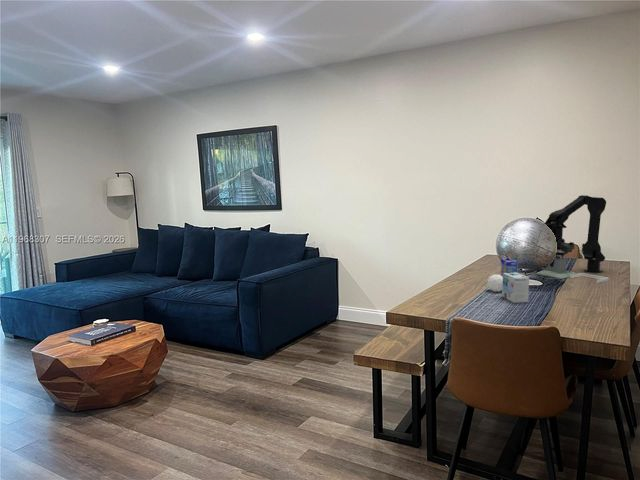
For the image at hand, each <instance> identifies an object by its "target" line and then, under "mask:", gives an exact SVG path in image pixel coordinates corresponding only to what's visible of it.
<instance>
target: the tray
mask: <svg viewBox="0 0 640 480" xmlns="http://www.w3.org/2000/svg"><path fill="white" fill-rule="evenodd" d="M534 273H535V272H534ZM574 274H576V273H575V271H570V270H566V272H563V273H557V272H551V271H546V270H543V271H540V272H537V273H535V275H540V276H545V277H551V278H555V279H560V280H561V279H562V280H563V279H566V278H570V275H574Z"/></svg>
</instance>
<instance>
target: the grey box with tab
mask: <svg viewBox="0 0 640 480" xmlns="http://www.w3.org/2000/svg"><path fill="white" fill-rule="evenodd" d="M556 256H559V257H560V258H559V257H555V259H554V263H553V267H551V266H550V265H549V266H548V267H547V268H546V269H544V268H543V269H544V270H546V271H551V272H557V273H563V272H566V271H567V258H565V257H563V258H562V256H561V255H556Z"/></svg>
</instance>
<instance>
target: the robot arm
mask: <svg viewBox="0 0 640 480" xmlns="http://www.w3.org/2000/svg"><path fill="white" fill-rule="evenodd" d="M584 205H586V206H587V207H586V208H587V211H588V213H589V221H588V222H589V223H588V230H587V232H588V233H587V241H586V242H585V243H582V244H581V246H582V247H581V252H582V255H583V258H584V260H587V263H586V264H587V265H586V269H584V272H589V273H597V274H598V273H601V272H603V271H604V270H602V269H601V262H602V263H603V262H604V261H605V260H606V256H605V255H604V254H603V253H602V249H601V248H602V247H601V245H600V242H599V235H600V227H601V216H602V214H603V213H604V211H605V210H606V206H607V200H606V199H605V198H604V197H596V196H595V197H594V196H589V195H586V194H585V195H583V194H581V195H579V196H578V197H577V198H575V199H574V200H573V201H571V202H570V203H568V204H567V205H566V206H564V207H562V208H560V209H558V210H555V211H552V212H551V213H549V215H548V218H547V219H546V221H545V222H544V224H546V225H547V226H548V227H549V228H550V229H551V230H552V232H553V233H554V235H555V237H556V242H557V253H556V255H561V256H562V258H564V256H565V255H568V253H572V251H573V250H575V243H574V242H572V241H570V242H566V239H565V238H563V233H564V232H563V231H564V229H566V228H567V225H566V224H564V223H566V221H568V219H569V217H570V216H571V215H572V214H573V213H575V212H576V211H578V210H579V209H580V208H582V207H583V206H584ZM556 257H559V256H556ZM559 258H560V257H559ZM553 263H554V260H553V262H552V263H551V264H550V266H551V267H553Z"/></svg>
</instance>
